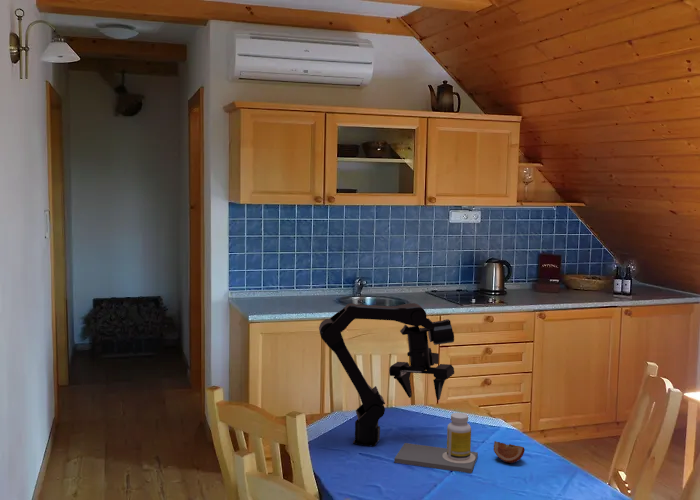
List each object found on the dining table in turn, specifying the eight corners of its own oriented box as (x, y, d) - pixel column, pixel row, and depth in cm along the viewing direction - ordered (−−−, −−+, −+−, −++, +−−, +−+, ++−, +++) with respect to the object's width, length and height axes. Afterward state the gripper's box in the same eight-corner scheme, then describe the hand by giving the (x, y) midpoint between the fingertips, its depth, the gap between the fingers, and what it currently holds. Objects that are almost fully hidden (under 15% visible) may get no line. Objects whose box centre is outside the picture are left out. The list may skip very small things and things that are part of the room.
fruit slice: (489, 461, 199) (490, 443, 198) (498, 453, 204) (499, 436, 204) (518, 468, 194) (519, 450, 194) (527, 460, 200) (528, 442, 199)
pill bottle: (473, 460, 196) (475, 418, 195) (450, 461, 195) (452, 419, 193) (465, 451, 202) (467, 411, 201) (443, 452, 201) (444, 412, 200)
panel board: (394, 462, 197) (394, 457, 197) (404, 446, 208) (404, 442, 208) (471, 473, 190) (471, 468, 190) (477, 456, 202) (477, 452, 202)
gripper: (459, 340, 212) (464, 391, 214) (403, 338, 222) (408, 387, 224) (443, 351, 202) (449, 404, 204) (385, 348, 212) (391, 399, 214)
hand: (424, 398), depth 212 cm, fingers open, 9 cm apart
